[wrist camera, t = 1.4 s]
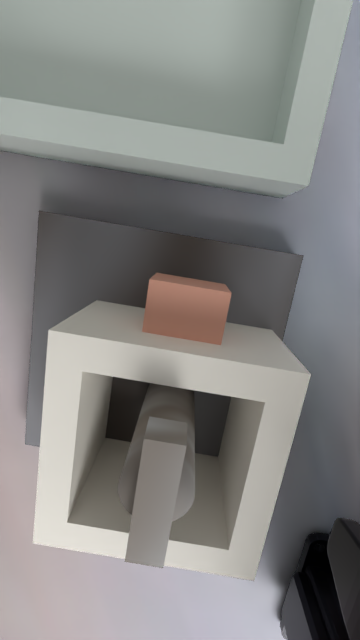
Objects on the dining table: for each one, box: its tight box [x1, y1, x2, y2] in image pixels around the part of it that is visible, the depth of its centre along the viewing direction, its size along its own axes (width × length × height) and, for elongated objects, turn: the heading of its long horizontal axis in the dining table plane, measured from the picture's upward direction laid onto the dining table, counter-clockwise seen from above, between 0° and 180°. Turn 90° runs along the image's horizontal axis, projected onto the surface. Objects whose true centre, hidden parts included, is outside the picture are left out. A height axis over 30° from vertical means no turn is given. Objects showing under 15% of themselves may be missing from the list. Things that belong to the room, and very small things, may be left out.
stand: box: [25, 211, 303, 568], centre depth 11 cm, size 10×10×7 cm
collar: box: [33, 273, 311, 581], centre depth 12 cm, size 7×9×4 cm
